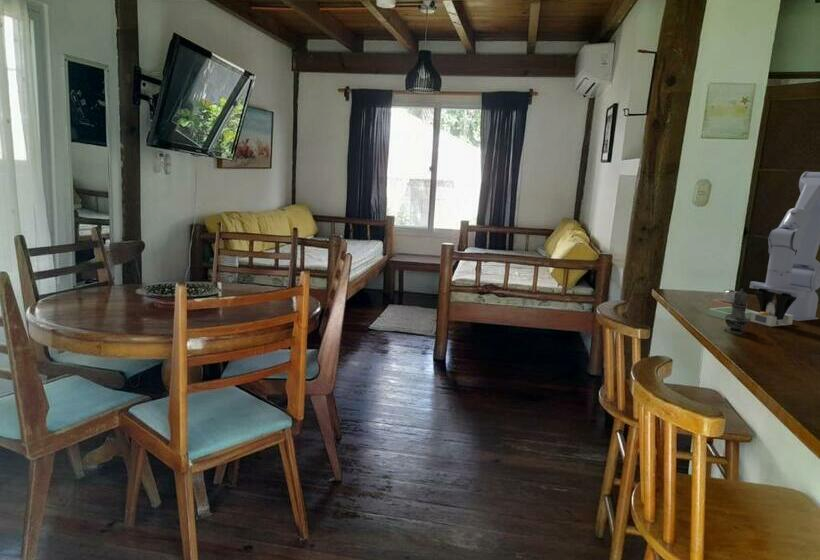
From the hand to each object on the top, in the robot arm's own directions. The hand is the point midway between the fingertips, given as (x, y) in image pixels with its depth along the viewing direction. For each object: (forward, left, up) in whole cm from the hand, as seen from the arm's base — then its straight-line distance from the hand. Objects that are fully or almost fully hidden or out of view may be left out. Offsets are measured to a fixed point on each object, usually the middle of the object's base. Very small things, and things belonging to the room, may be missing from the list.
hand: (771, 317), depth 151 cm
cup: (-2, -15, -2) cm, 15 cm away
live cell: (0, 0, -2) cm, 2 cm away
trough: (+5, -8, -2) cm, 10 cm away
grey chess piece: (+19, +4, -2) cm, 19 cm away
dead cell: (-2, -15, -2) cm, 15 cm away
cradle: (0, 0, -2) cm, 2 cm away
